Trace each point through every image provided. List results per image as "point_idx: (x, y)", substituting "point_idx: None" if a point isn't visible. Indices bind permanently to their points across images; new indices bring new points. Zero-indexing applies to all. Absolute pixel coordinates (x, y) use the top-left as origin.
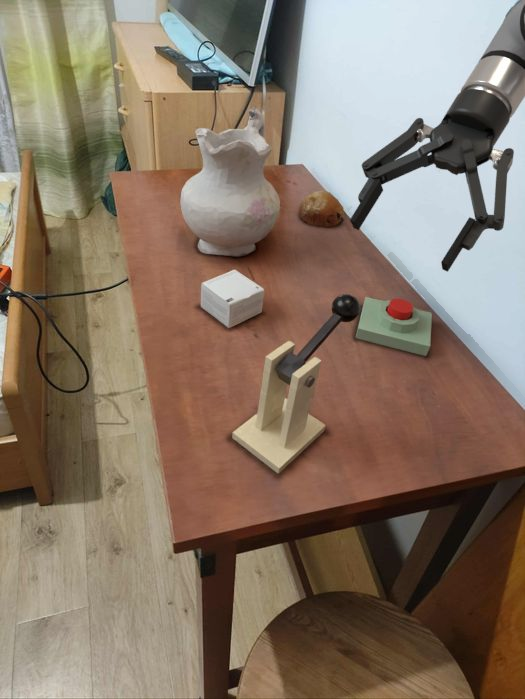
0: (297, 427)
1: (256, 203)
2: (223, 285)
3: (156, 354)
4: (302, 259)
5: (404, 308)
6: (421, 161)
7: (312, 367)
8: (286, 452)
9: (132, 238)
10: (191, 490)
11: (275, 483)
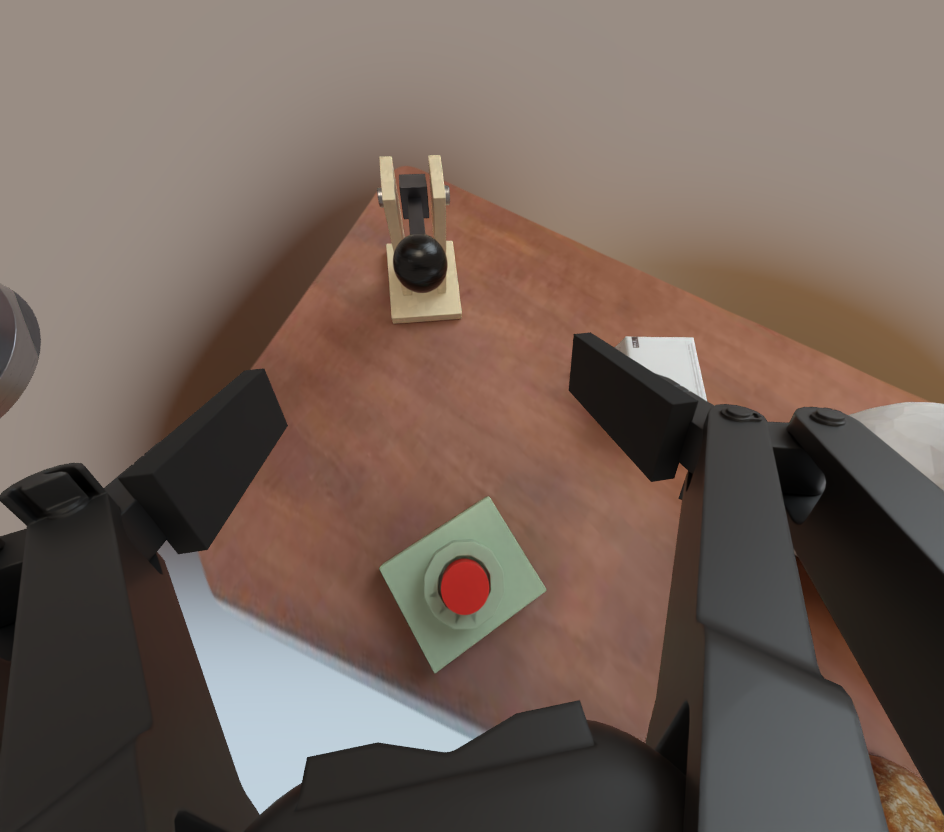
0: None
1: None
2: (673, 358)
3: (604, 263)
4: None
5: (455, 584)
6: (676, 661)
7: (381, 182)
8: None
9: (871, 383)
10: (429, 189)
11: (382, 243)
